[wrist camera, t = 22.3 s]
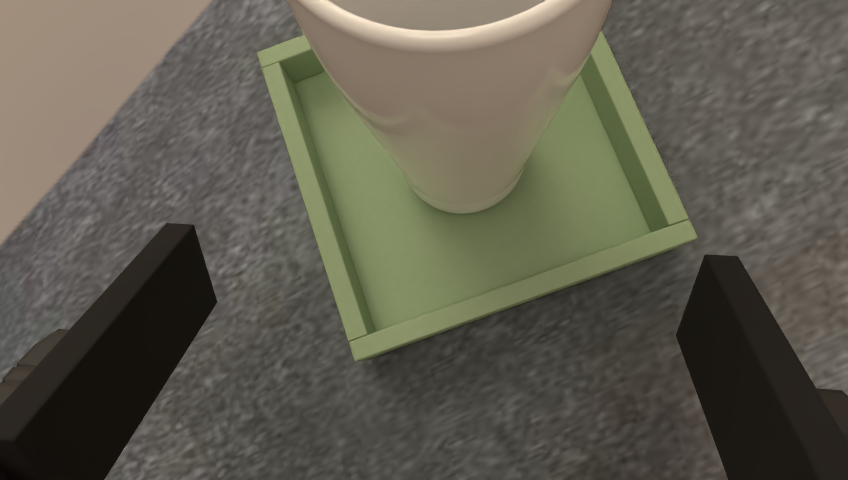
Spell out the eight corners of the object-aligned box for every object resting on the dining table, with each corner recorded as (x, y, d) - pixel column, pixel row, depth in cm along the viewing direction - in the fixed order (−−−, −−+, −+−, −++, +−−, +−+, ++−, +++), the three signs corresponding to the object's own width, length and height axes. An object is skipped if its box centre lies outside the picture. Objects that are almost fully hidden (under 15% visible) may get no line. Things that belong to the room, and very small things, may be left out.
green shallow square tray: (277, 80, 26) (256, 51, 23) (550, -22, 25) (559, -63, 23) (367, 359, 23) (354, 361, 20) (673, 249, 23) (699, 238, 20)
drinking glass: (574, 140, 23) (748, -202, 8) (478, 265, 23) (487, 135, 8) (447, 56, 24) (407, -372, 10) (354, 173, 24) (159, -90, 9)
